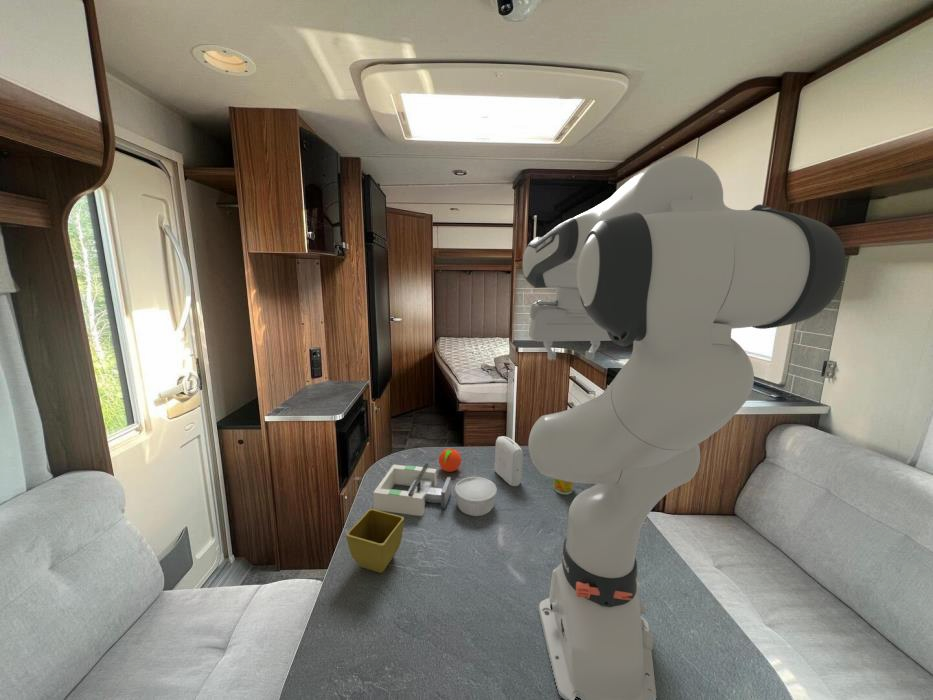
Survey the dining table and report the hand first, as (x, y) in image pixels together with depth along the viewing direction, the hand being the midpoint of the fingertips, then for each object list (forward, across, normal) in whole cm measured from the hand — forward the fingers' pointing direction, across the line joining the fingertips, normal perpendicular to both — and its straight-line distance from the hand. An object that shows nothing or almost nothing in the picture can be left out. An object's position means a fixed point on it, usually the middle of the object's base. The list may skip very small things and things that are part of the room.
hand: (570, 359), depth 86 cm
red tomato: (+41, -27, +22) cm, 54 cm away
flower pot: (+41, -45, -12) cm, 62 cm away
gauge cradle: (+41, -39, +11) cm, 58 cm away
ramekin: (+41, -21, +5) cm, 46 cm away
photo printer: (+41, -10, +17) cm, 45 cm away
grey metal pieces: (+40, -33, +9) cm, 53 cm away
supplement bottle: (+41, +5, +9) cm, 42 cm away
